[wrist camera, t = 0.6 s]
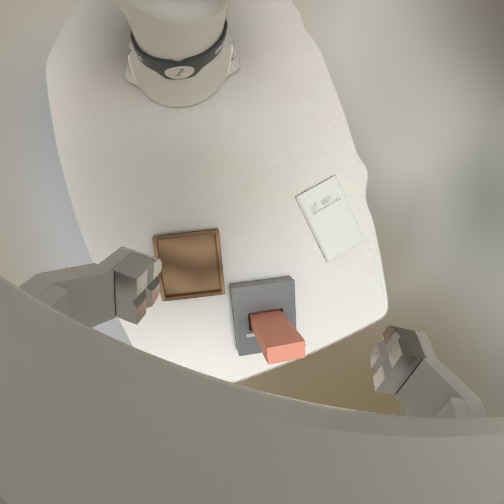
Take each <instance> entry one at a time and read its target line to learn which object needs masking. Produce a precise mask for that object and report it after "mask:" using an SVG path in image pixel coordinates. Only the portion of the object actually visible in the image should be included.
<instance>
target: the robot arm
mask: <svg viewBox="0 0 504 504" xmlns="http://www.w3.org/2000/svg"><path fill="white" fill-rule="evenodd" d="M110 1H111V2H113V3H114V4H115V5H117V6H118V7H119V8H120V9H121V11H122V12H123V13H124V15H125V17H126V19H127V21H128V23H129V25H130V28H131V39H132V41H130V42H129V49H131V53H130V54H129V55H128V64H127V67H126V71H125V79H126V81H127V82H129V83H131V84H133V85H136V86H138V87H139V88H140V89H141V90H142V91H143V92H144V93H145V94H146V95H147V97H149V98H150V99H151V100H153V101H154V102H156V103H158V104H161V105H164V106H168V107H187V106H192V105H195V104H198V103H200V102H202V101H204V100H206V99H207V98H209V97H210V96H211V95H213V94H214V93H215V92H216V91H217V90H218V88H219V87H220V85H221V84H222V83H223V81H224V80H225V79H226V78H227V77H229V76H230V75H232V74H234V73H235V72H236V71H238V69H239V65H240V63H239V60H238V57H237V54H236V51H235V48H234V45H233V42H232V39H231V36H230V33H229V30H228V28H227V19H226V15H227V10H228V6H229V1H230V0H110ZM231 59H232V61H231ZM161 268H162V262H161V260H160V259H158V258H155V257H152V256H149V255H146V254H144V253H141V252H138V251H135V250H133V249H129V248H126V247H121V248H120V249H118V250H117V251H116V252H114V253H113V254H111V255H110V256H109V257H107V258H106V259H105V260H103V261H102V262H101V263H99V264H95V263H93V264H87V265H82V266H77V267H71V268H65V269H60V270H54V271H49V272H43V273H39V274H36V275H35V276H33V277H32V278H30V279H29V280H28V281H26V282H25V283H24V284H22V285H21V286H19V287H17V286H16V285H14V284H13V283H11V282H9V281H8V280H6V279H5V278H3V277H2V276H0V504H504V417H496V418H487V416H486V413H485V411H484V408H483V406H482V403H481V401H480V399H479V397H478V396H477V395H476V394H474V392H473V391H472V390H470V389H469V388H468V387H467V386H466V385H465V384H464V383H463V382H462V381H461V380H460V379H459V378H458V377H457V376H456V375H455V374H454V373H453V372H452V371H451V370H449V369H448V368H447V367H446V366H445V365H444V364H443V363H442V362H441V361H438V360H437V358H436V356H435V353H434V351H433V349H432V346H431V344H430V342H429V340H428V338H427V335H426V334H425V333H424V332H419V331H414V330H409V329H404V328H399V327H395V326H388V327H387V328H386V330H385V331H384V333H383V341H381V342H379V343H377V345H376V346H375V348H374V350H373V353H372V356H371V368H372V370H373V371H374V372H375V373H376V374H375V375H374V377H373V380H374V386H375V391H377V392H383V393H388V394H394V395H395V396H396V398H397V399H398V401H399V402H400V404H401V405H402V407H403V408H404V410H405V411H406V413H407V414H408V416H400V415H390V414H381V413H372V412H364V411H358V410H351V409H344V408H339V407H332V406H327V405H322V404H316V403H312V402H307V401H302V400H297V399H293V398H288V397H284V396H280V395H275V394H272V393H267V392H263V391H260V390H256V389H252V388H249V387H245V386H241V385H238V384H235V383H231V382H228V381H225V380H222V379H218V378H215V377H212V376H209V375H206V374H203V373H200V372H197V371H194V370H191V369H188V368H186V367H183V366H180V365H177V364H175V363H172V362H169V361H167V360H164V359H161V358H159V357H156V356H154V355H151V354H149V353H146V352H144V351H141V350H139V349H137V348H134V347H132V346H130V345H127V344H125V343H123V342H120V341H118V340H116V339H114V338H112V337H109V336H107V335H105V334H103V333H101V332H99V331H97V330H95V329H93V328H92V327H94V326H96V325H98V324H101V323H103V322H106V321H108V320H111V319H113V318H115V316H116V317H119V318H121V319H124V320H126V321H129V322H131V323H134V324H138V323H139V321H140V320H141V319H142V318H143V316H144V315H145V314H146V308H148V307H151V306H152V305H153V304H154V303H155V301H156V299H157V297H158V294H159V290H160V280H159V278H158V276H157V275H158V274H159V273H160V272H161Z"/></svg>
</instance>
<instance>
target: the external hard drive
mask: <svg viewBox="0 0 504 504" xmlns="http://www.w3.org/2000/svg"><path fill="white" fill-rule="evenodd" d="M295 199H296V201H297V203H298V205H299V207H300V209H301V211H302V213H303V215H304V217H305V219H306V221H307V223H308V225H309V227H310V229H311V231H312V233H313V235H314V237H315V239H316V241H317V244H318V246H319V248H320V250H321V252H322V254H323V256H324V258H325V260H326V262H330V261H332V260H333V259H335V258H336V257H338V256H339V255H341V254H342V253H344V252H346V251H347V250H349V249H350V248H352V247H353V246H355V245H356V244H358V243H360V242H361V241H362V240H364V237H363V235H362V232H361V230H360V228H359V225H358V223H357V221H356V218H355V216H354V214H353V212H352V209H351V207H350V205H349V203H348V200H347V198H346V196H345V194H344V192H343V190H342V187H341V185H340V183H339V181H338V179H337V177H336V175H334V176H332V177H330V178H328V179H327V180H325V181H323V182H321V183H319V184H318V185H316V186H314V187H312V188H310V189H308V190H306V191H304V192H303V193H301V194H299V195H297V196H295Z"/></svg>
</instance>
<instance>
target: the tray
mask: <svg viewBox="0 0 504 504" xmlns="http://www.w3.org/2000/svg"><path fill="white" fill-rule="evenodd" d="M153 244H154V252H155V258H158V259H160V260H161V262H162V268H161V272H160V273H159V274H158V278H159V280H160V291H161V297H162V301H170V300H179V299H188V298H197V297H205V296H213V295H221V294H225V286H224V277H223V267H222V258H221V248H220V238H219V230H218V229H213V230H203V231H194V232H186V233H177V234H168V235H160V236H154V237H153Z"/></svg>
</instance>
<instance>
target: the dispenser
mask: <svg viewBox="0 0 504 504" xmlns="http://www.w3.org/2000/svg"><path fill="white" fill-rule="evenodd" d="M230 291H231V300H232V309H233V318H234V327H235V335H236V344H237V350H238V353H239V356H243V355H249V354H255V353H261V352H262V350H261V348H260V346H259V344H258V342H257V339H256V337H255V335H254V333H253V331H252V328H251V326H250V324H249V321H248V313H254V312H261V311H268V310H274V309H280V310H281V311H282V312H283V314H284V315H285V316H286V317H287V319H288V320H289V321H290V322H291V324H292V325H293V326H294V328H295V329H296V309H295V284H294V279H292V278H291V277H290V276H286V277H279V278H272V279H264V280H257V281H249V282H241V283H233V284H230Z"/></svg>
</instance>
